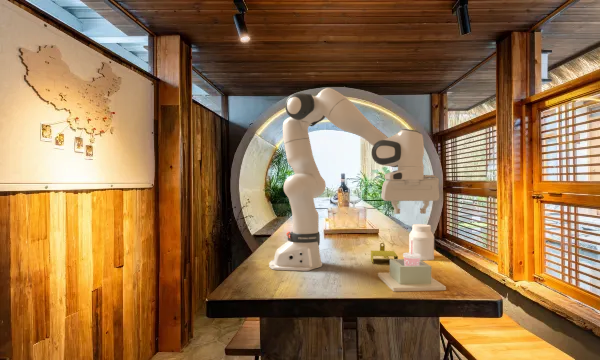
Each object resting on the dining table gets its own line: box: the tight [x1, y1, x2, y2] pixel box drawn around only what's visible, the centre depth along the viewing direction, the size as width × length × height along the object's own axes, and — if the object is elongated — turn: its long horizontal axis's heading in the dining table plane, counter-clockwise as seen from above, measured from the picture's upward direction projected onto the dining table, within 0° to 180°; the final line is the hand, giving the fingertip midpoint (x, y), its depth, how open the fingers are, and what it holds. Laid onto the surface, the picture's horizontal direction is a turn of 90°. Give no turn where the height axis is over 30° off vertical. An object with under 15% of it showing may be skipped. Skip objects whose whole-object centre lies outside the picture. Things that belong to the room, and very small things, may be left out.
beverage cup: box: [402, 240, 421, 266], centre depth 130 cm, size 6×6×14 cm
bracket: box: [370, 242, 399, 263], centre depth 159 cm, size 16×8×15 cm
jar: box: [408, 223, 435, 261], centre depth 168 cm, size 12×10×15 cm
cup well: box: [377, 258, 447, 292], centre depth 130 cm, size 18×18×7 cm
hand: (410, 213), depth 129 cm, fingers open, 8 cm apart
